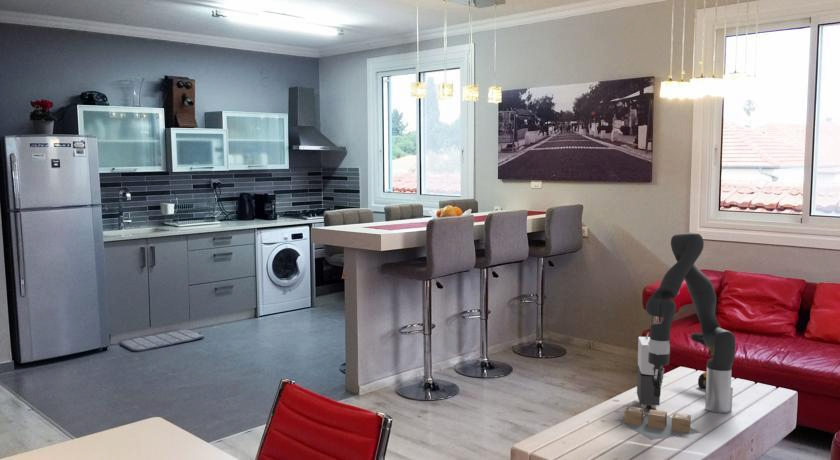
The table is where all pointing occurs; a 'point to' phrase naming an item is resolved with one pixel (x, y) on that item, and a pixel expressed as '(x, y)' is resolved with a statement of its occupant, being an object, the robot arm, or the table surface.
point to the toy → (645, 375)
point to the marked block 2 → (681, 422)
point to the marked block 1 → (634, 416)
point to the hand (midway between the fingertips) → (657, 396)
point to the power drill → (699, 338)
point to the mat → (654, 432)
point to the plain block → (657, 419)
